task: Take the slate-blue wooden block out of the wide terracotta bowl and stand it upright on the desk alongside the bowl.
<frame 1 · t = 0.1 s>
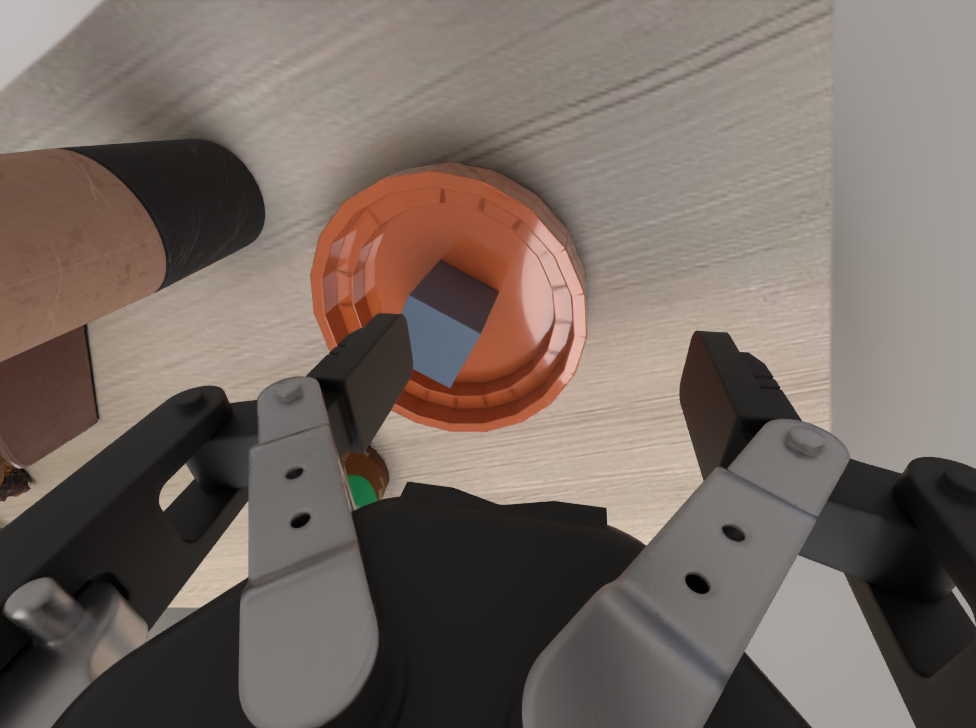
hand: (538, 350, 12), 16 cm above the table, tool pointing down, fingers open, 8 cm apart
travel mug: (219, 195, 29), on the table
bowl: (458, 299, 30), on the table
letter holder: (45, 332, 41), on the table
food container: (371, 472, 42), on the table
block: (444, 321, 27), in the bowl
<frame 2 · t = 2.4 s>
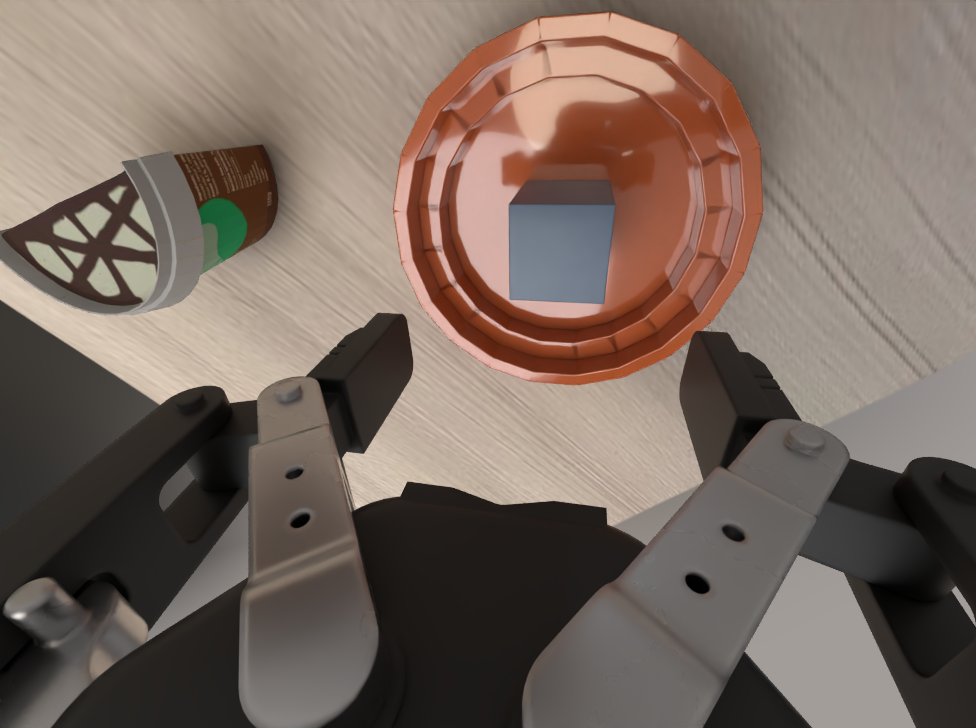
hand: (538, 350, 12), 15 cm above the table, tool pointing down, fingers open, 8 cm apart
bowl: (565, 220, 24), on the table
food container: (238, 216, 29), on the table
block: (561, 237, 21), in the bowl
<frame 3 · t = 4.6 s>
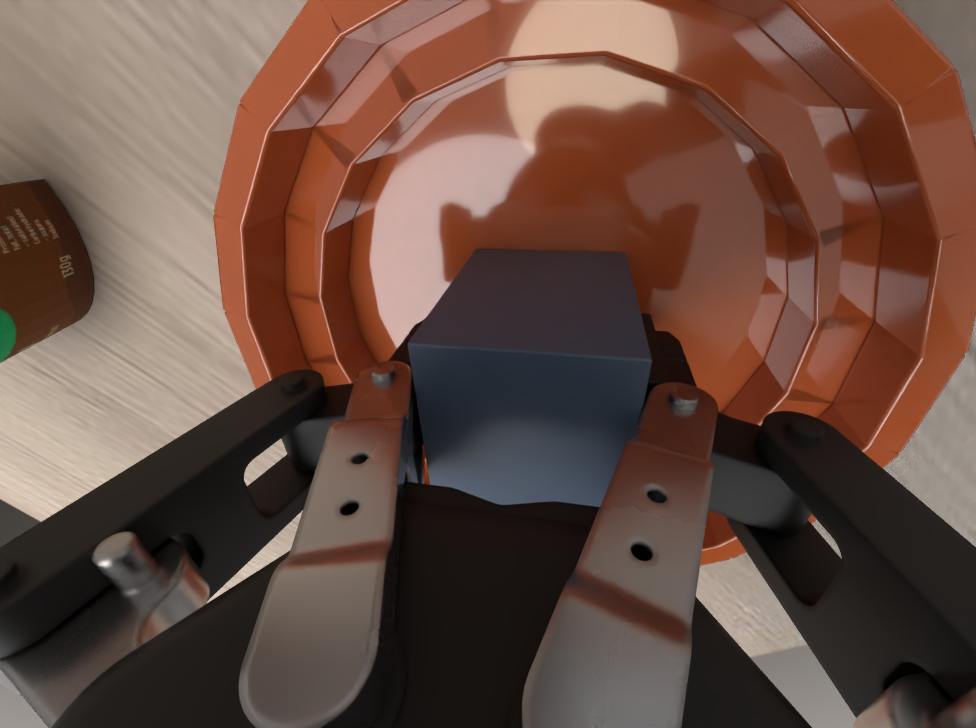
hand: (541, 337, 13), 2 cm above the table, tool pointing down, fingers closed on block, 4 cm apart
bowl: (547, 311, 14), on the table
food container: (43, 284, 18), on the table
block: (536, 366, 11), in the bowl, touching gripper
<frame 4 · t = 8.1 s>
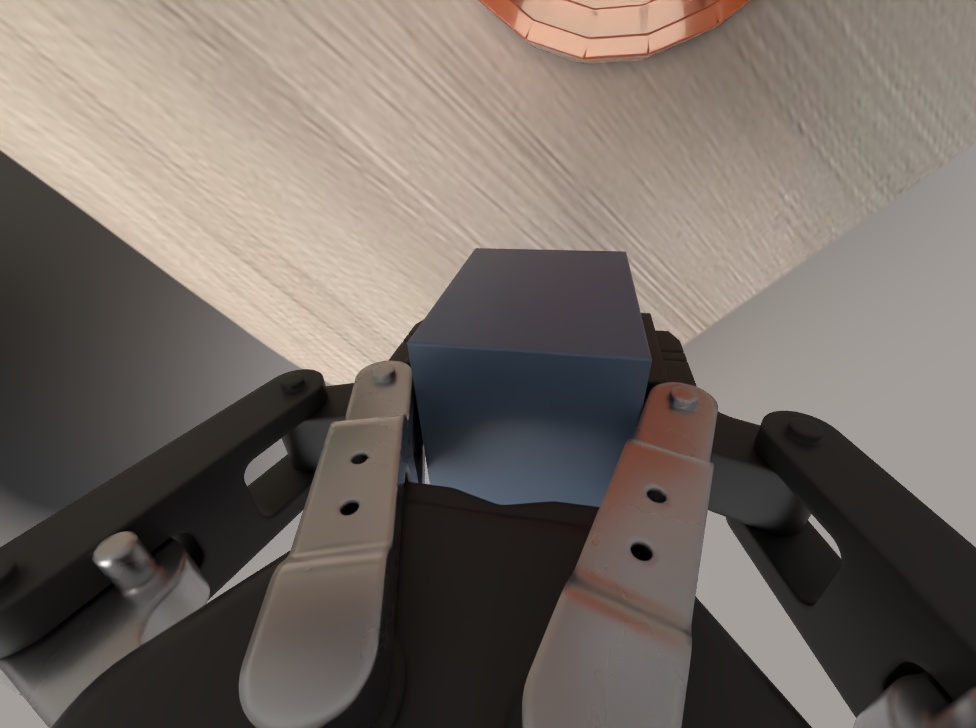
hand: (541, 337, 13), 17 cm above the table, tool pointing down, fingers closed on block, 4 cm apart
block: (536, 366, 11), point 18 cm above the table, touching gripper
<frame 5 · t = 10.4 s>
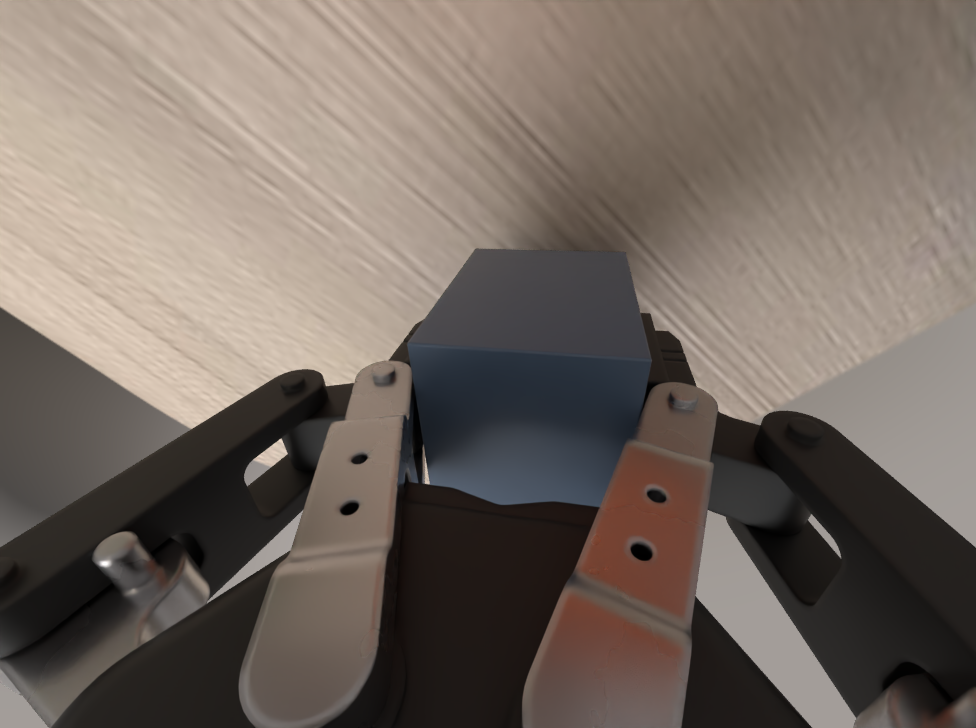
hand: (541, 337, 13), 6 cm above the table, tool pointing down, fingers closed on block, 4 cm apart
block: (536, 366, 11), point 7 cm above the table, touching gripper
when the fingers open (1 cm above the table, at t = 11.9 s): block stays where it is, on the table.
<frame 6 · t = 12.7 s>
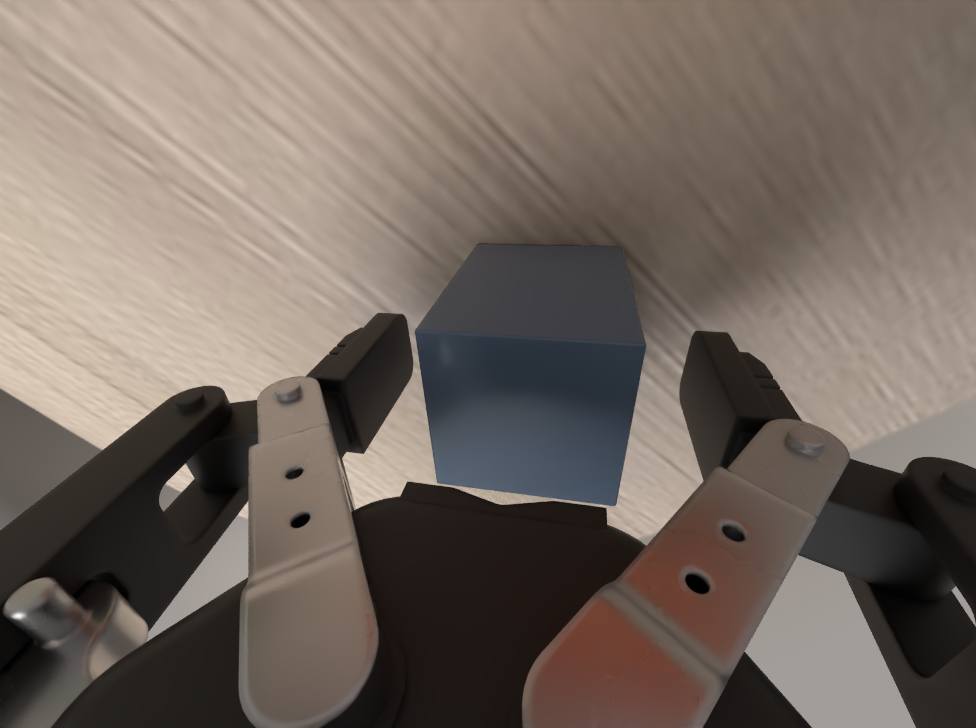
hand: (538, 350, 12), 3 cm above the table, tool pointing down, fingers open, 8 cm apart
block: (536, 356, 12), on the table
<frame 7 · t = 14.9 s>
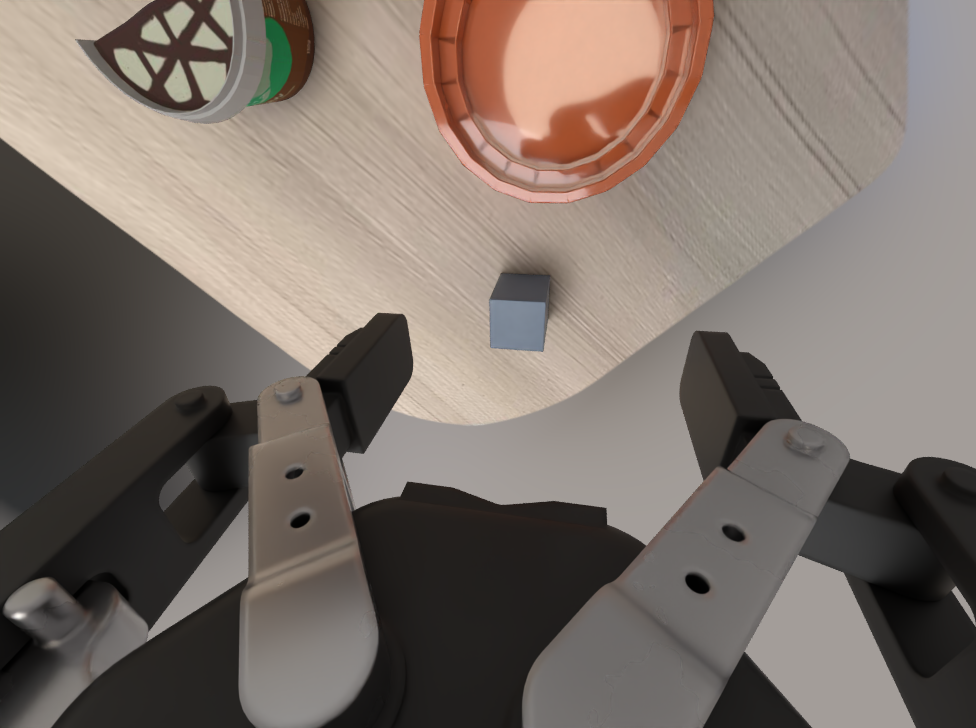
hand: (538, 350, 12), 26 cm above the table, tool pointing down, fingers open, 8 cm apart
bowl: (559, 59, 29), on the table
food container: (277, 71, 33), on the table
block: (521, 310, 37), on the table
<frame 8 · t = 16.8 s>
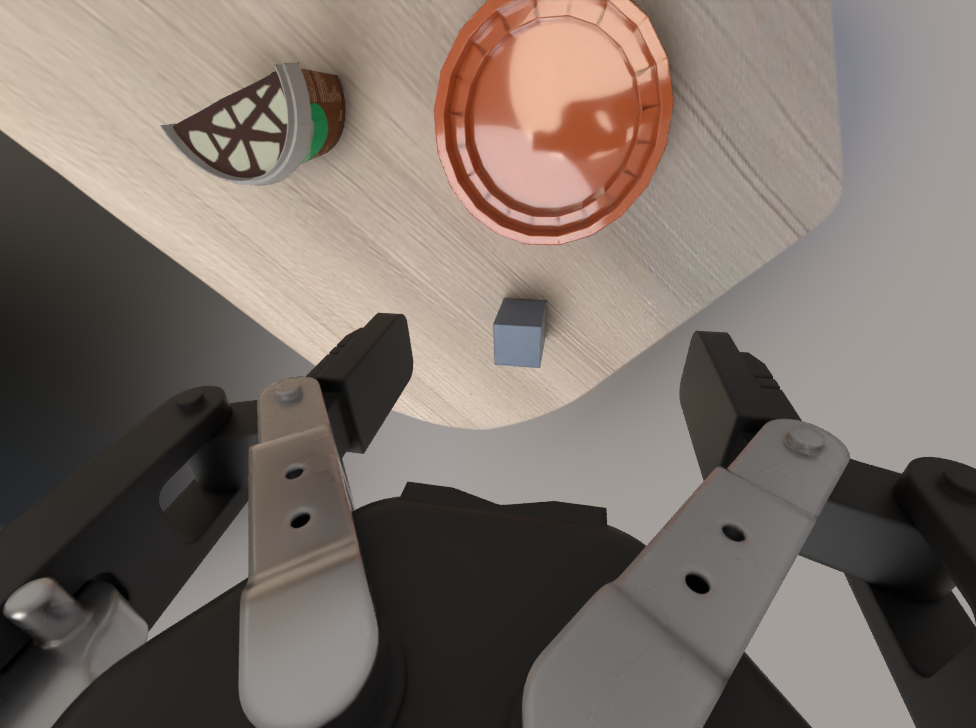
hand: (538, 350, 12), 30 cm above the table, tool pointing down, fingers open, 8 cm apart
bowl: (550, 125, 35), on the table
food container: (313, 133, 39), on the table
block: (521, 331, 43), on the table
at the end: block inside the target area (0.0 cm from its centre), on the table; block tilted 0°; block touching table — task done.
